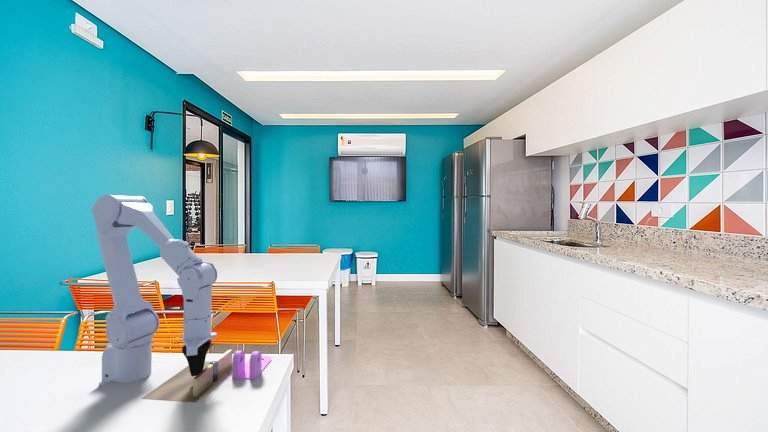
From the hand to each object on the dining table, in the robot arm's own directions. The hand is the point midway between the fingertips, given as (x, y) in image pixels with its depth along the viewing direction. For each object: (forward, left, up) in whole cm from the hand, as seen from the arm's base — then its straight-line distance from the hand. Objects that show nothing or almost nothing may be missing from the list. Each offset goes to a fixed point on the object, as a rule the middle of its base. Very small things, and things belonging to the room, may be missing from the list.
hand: (196, 374), depth 84 cm
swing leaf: (+3, -3, -2) cm, 5 cm away
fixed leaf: (+3, +5, -2) cm, 6 cm away
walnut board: (-1, +1, -3) cm, 4 cm away
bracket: (+10, +10, -3) cm, 14 cm away
